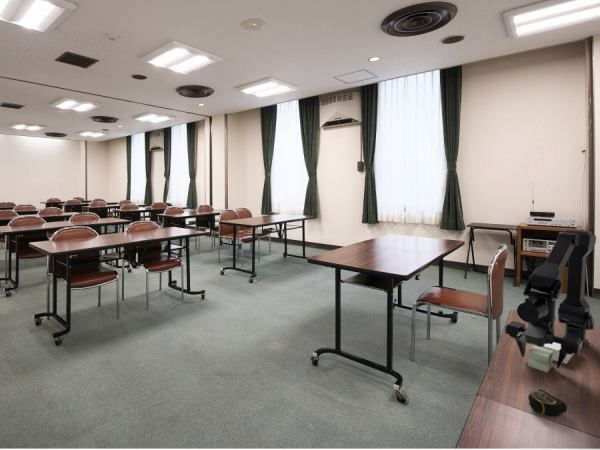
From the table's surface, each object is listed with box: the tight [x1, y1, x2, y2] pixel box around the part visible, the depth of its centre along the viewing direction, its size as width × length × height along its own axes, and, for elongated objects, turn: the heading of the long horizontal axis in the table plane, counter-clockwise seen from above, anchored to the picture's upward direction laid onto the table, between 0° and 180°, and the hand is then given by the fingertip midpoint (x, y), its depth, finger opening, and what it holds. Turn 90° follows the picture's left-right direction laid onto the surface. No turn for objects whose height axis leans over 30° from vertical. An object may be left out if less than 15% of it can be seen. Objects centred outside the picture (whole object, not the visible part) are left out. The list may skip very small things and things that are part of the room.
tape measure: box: [527, 388, 568, 418], centre depth 87 cm, size 7×7×4 cm
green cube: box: [527, 346, 554, 373], centre depth 106 cm, size 5×5×5 cm
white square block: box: [528, 342, 574, 365], centre depth 114 cm, size 10×10×4 cm
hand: (540, 362), depth 107 cm, fingers open, 9 cm apart
